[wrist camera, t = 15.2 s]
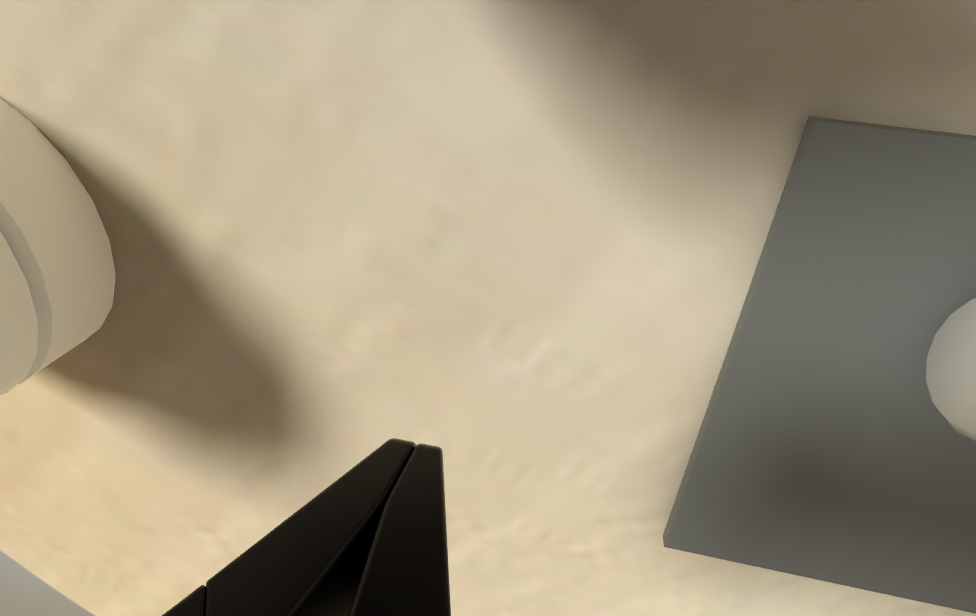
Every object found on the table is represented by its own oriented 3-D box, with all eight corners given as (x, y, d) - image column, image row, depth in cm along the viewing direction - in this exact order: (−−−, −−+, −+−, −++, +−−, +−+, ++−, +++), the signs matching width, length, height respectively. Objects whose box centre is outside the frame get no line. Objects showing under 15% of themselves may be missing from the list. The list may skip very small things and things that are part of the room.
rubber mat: (809, 116, 16) (815, 121, 16) (1388, 183, 15) (1416, 190, 14) (663, 535, 25) (664, 546, 25) (1009, 608, 24) (1018, 622, 23)
